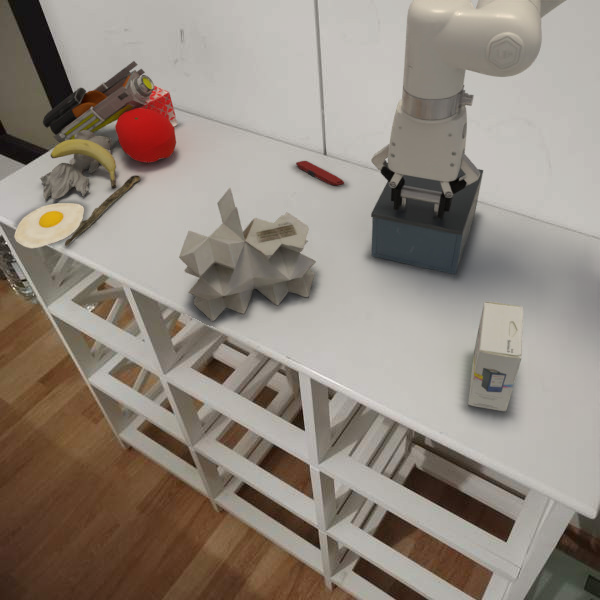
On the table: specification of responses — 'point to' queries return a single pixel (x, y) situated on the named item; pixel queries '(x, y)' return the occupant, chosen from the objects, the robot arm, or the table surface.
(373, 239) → the storage bin
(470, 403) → the ink box
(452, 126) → the robot arm
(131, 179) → the wooden stick
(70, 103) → the toy blaster gun
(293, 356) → the table surface
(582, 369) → the table surface
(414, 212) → the box lid
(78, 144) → the fruit
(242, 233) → the white crumpled paper lump
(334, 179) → the utility knife
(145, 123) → the tomato
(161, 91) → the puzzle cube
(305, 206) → the table surface
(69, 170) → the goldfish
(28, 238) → the cracked egg
